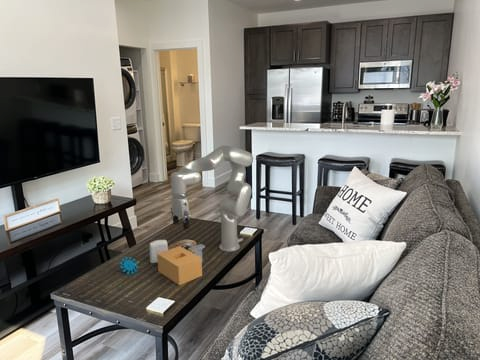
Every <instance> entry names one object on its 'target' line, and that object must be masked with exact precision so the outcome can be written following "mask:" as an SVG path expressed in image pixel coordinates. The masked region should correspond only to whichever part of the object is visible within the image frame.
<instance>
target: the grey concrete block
mask: <svg viewBox="0 0 480 360" xmlns="http://www.w3.org/2000/svg"><path fill="white" fill-rule="evenodd" d="M204 248H206V245H204V244H202V243H200V244H197V245H194V246H192V247H188V248H187V250H188V251H190V252H191V253H193V254H195V255H197V256H199V257H201V259H202V260H203V249H204Z"/></svg>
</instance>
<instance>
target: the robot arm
mask: <svg viewBox="0 0 480 360" xmlns="http://www.w3.org/2000/svg"><path fill="white" fill-rule="evenodd" d="M224 162H229V164H230V167H231V172H230V177H229V181H228V183H227V187H226V192H227V194H228V195H229V196H231V197H229V196H228V197H226V196H225V197H223V198H221V200H220V201H219V204H218V208H219V213H220V223H221V224H220V225H221V227H220V230H221V231H220V235H221V243H220V244H219V246H218V248H219V250H221V251H222V252H227V253H228V252H229V253H230V252H236V251H237V250H239V249H240V246H241V244H240V243H241V242H243V241H244V239H243V237H241V238H239V237H238V219H237V218H241V217H243V216H244V215H245V214H246V212H247V209H248V206H249V203H250V200H251V197H252V193H253V192H252V191H253V190H252V186H251V185H250V184H249V183H248V182H245V179H246V173H247V171H246V168H245V167H249V166H251V165H252V164H253V162H254V156H253V154H252V153H251V152H249V151H248V150H243V149H241V148H239V147H236V146H233V145H231V146H230V145H220V146H219V147H217V148H215V149H214V150H213V151H211V152H210V153H208V154H207V155H205V156H204V157H203V156H202V157H200V158H197V159H193V160H192V161H190V162H187V163H186V164H184V165H183V166H182V167H180V168H179V170H178V171H174V172H172V173H171V174H170V184H171V185H170V187H171V198H172V199H171V207H170V211H171V213H170V214H171V217H172V222H173V223H172V224H173V225H174V226H175V225H178V224H179V223H180V221H179V220H180V219H182V221H183V223H182V224H183V228H182V229H183V230H184V231H186V230H188V229H190V220H191V217H192V215H191V213H190V204H189V200H188V197H187V196H188V195H187V193H188V191H187V186H188V185H191V186H192V185H197V184H198V183H200V181H201V180H202V175H201V172H208V171H213V170H215V169H217V168H218V167H219V166H220V165H222V164H223V163H224ZM232 197H235V198H232Z"/></svg>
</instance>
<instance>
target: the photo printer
mask: <svg viewBox="0 0 480 360" xmlns="http://www.w3.org/2000/svg"><path fill="white" fill-rule="evenodd" d="M168 247H169V246H168V241H167V240H166V239H158V240H154V241H151V242H149V262H150V263H151V264H154V263H158V258H157V254H158V253H161V252H164V251H167V250H169V248H168Z"/></svg>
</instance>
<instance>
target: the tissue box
mask: <svg viewBox="0 0 480 360" xmlns="http://www.w3.org/2000/svg"><path fill="white" fill-rule="evenodd" d="M157 258H158V262H157V269H158V272H159V273H160V274H162V275H163V276H164V277H166V278H168V279H169V280H170V281H173V282H174V283H176V284H177V285H178V286H181V285H183V284H186V283H188V282H190V281H192V280H195V279H197V278H200V277H202V276H203V267H202V266H203V265H202V264H203V258H202V259H201V257H199V256H197V255H195V254H193V253H191V252H190V251H188V249H186V248H183V247H182V246H180V245H179V246H177V247H172V248H170V249H168V250H167V251H164V252H161V253H158V254H157Z"/></svg>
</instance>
